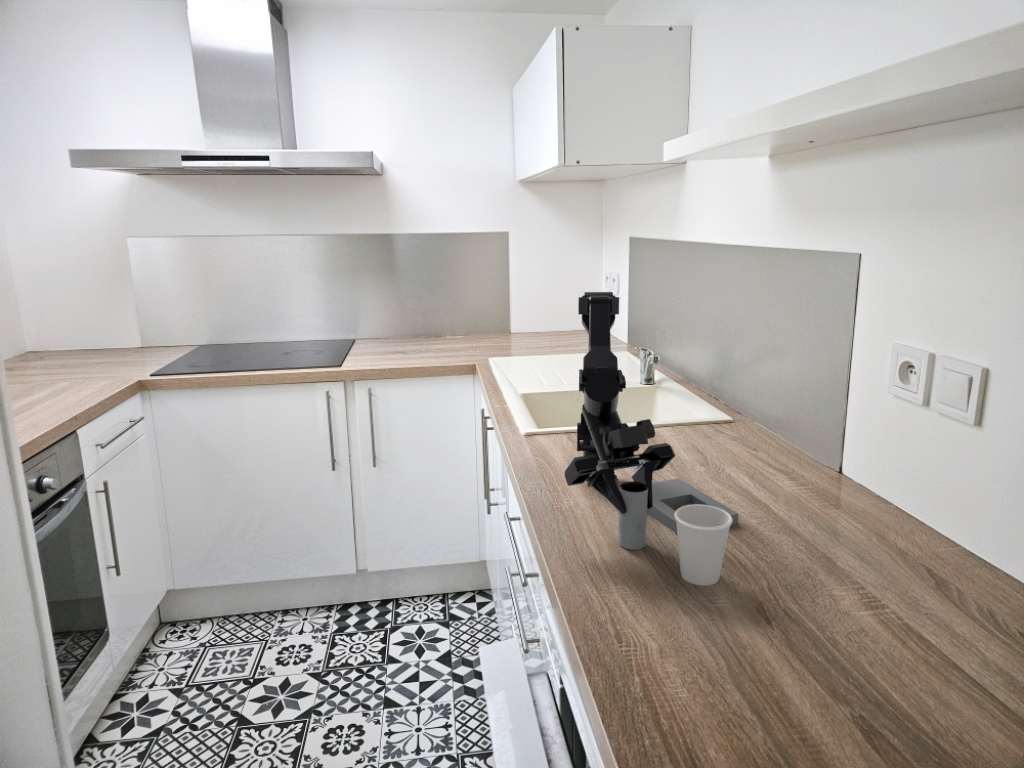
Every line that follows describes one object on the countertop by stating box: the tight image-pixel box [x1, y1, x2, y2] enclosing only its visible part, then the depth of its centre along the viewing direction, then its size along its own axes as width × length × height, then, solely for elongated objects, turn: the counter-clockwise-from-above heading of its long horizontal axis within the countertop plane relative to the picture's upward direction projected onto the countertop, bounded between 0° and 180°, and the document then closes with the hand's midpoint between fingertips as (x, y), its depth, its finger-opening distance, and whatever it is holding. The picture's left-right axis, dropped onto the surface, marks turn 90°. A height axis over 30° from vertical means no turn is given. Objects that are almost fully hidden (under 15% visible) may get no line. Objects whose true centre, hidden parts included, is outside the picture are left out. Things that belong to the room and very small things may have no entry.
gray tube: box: [618, 481, 648, 551], centre depth 113 cm, size 4×4×10 cm
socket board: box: [647, 477, 739, 534], centre depth 127 cm, size 18×12×2 cm, turn 22°
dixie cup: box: [674, 504, 732, 587], centre depth 103 cm, size 8×8×10 cm
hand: (637, 510), depth 111 cm, fingers closed on gray tube, 4 cm apart
